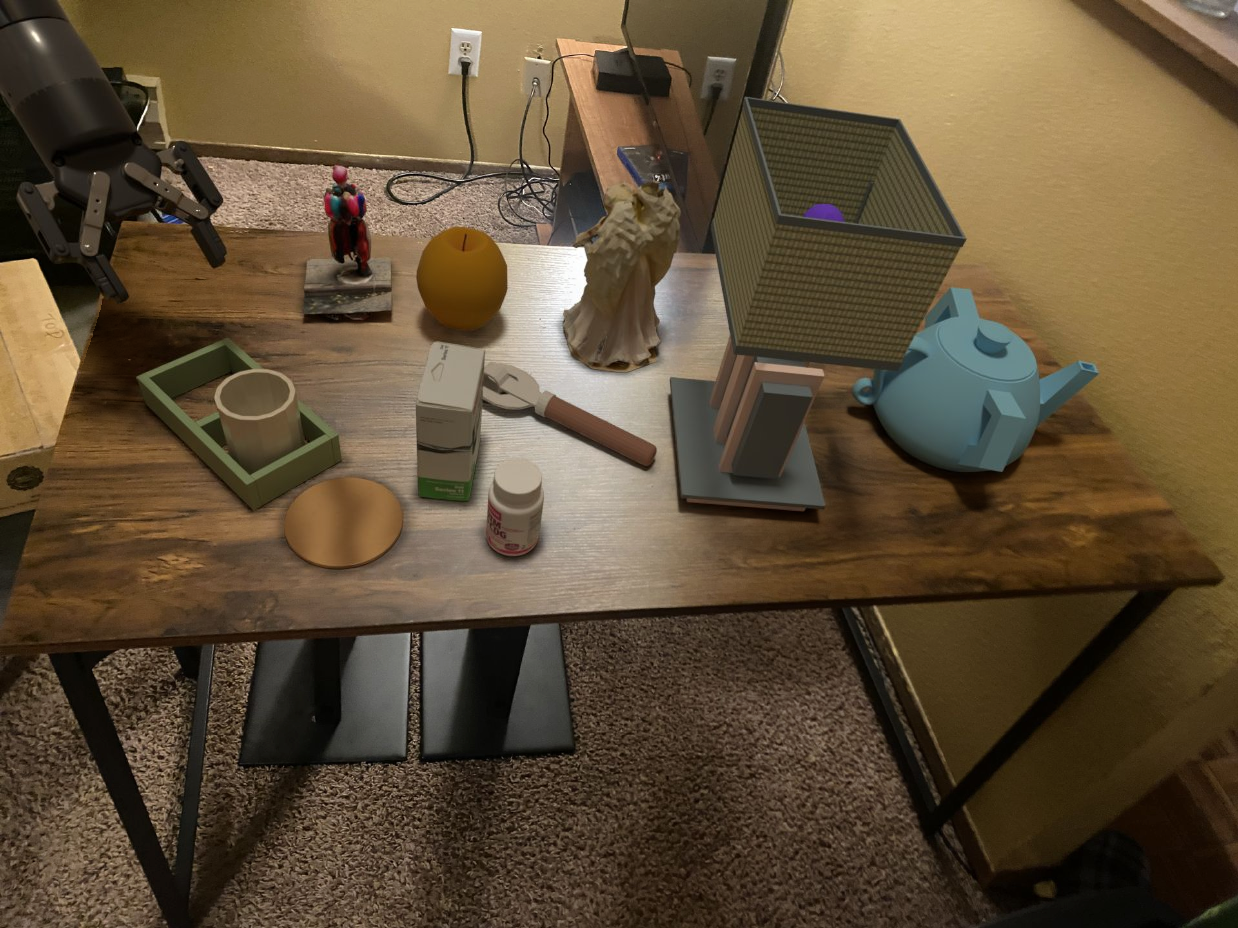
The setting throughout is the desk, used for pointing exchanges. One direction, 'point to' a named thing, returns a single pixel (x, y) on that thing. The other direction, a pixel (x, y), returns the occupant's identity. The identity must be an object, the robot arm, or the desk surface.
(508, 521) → the pill bottle
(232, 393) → the cup
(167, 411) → the cup holder
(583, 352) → the figurine
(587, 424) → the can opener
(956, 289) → the teapot
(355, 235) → the statue
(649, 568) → the desk surface
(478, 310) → the apple
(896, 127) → the desk lamp
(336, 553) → the coaster
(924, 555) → the desk surface
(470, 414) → the ink box
